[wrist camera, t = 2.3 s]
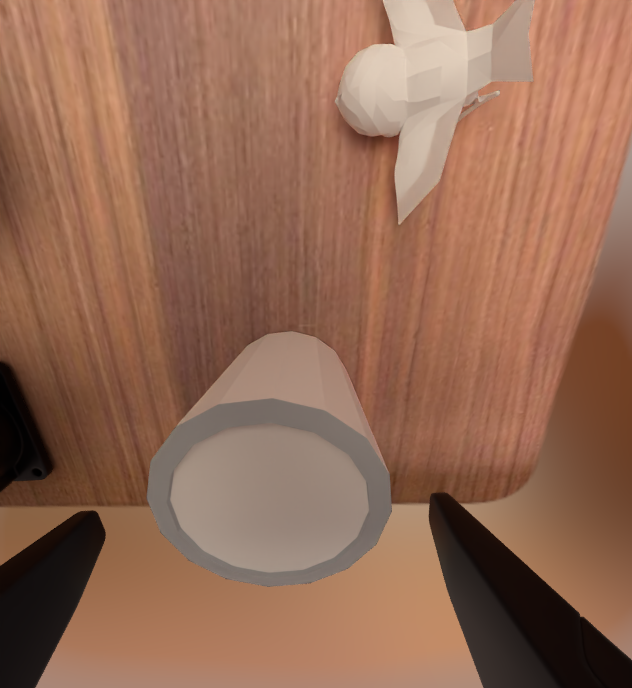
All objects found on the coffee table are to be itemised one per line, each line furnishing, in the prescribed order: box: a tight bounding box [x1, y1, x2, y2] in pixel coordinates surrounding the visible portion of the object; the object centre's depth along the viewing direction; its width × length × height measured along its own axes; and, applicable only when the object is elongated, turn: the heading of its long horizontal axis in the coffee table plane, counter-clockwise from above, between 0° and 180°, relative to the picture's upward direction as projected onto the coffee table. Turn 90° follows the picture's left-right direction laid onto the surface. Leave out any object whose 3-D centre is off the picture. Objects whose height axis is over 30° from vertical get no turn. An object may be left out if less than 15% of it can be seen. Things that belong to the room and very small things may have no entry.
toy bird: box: [335, 0, 535, 226], centre depth 10 cm, size 8×5×5 cm, turn 9°
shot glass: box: [147, 331, 392, 587], centre depth 12 cm, size 7×7×7 cm
